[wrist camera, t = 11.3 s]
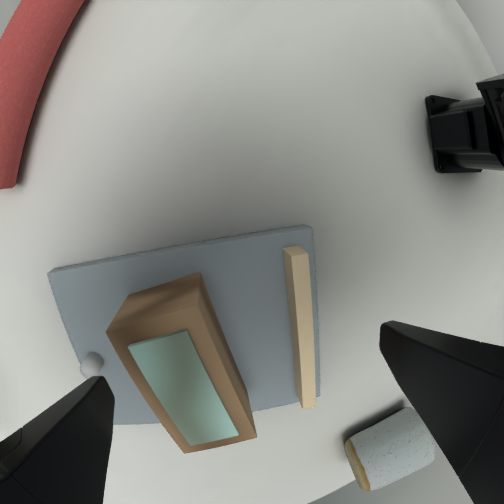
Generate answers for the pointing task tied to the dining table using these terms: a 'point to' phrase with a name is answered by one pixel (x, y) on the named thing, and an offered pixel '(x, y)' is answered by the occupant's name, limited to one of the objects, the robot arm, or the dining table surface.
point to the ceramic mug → (390, 449)
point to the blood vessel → (27, 71)
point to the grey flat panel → (224, 303)
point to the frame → (183, 364)
